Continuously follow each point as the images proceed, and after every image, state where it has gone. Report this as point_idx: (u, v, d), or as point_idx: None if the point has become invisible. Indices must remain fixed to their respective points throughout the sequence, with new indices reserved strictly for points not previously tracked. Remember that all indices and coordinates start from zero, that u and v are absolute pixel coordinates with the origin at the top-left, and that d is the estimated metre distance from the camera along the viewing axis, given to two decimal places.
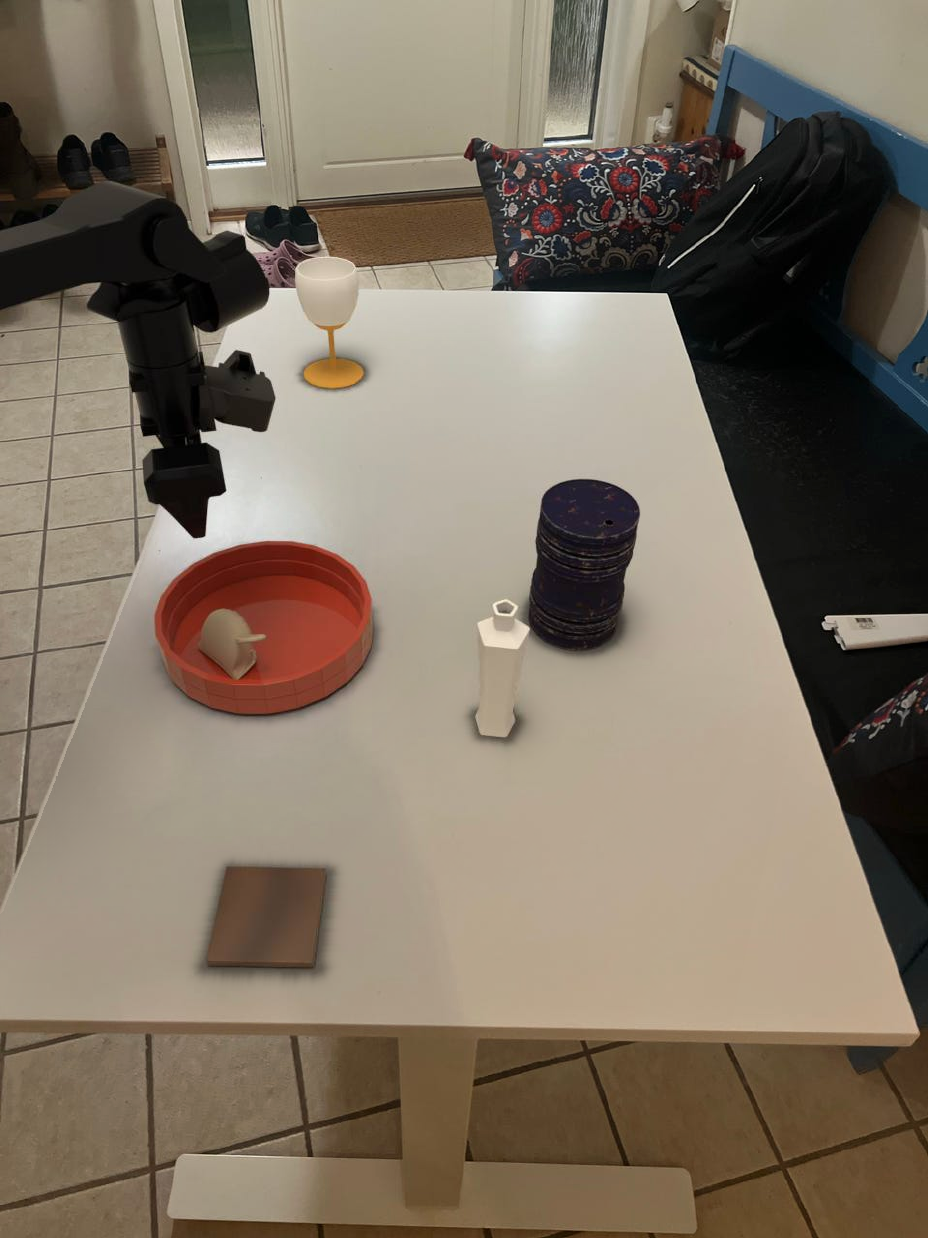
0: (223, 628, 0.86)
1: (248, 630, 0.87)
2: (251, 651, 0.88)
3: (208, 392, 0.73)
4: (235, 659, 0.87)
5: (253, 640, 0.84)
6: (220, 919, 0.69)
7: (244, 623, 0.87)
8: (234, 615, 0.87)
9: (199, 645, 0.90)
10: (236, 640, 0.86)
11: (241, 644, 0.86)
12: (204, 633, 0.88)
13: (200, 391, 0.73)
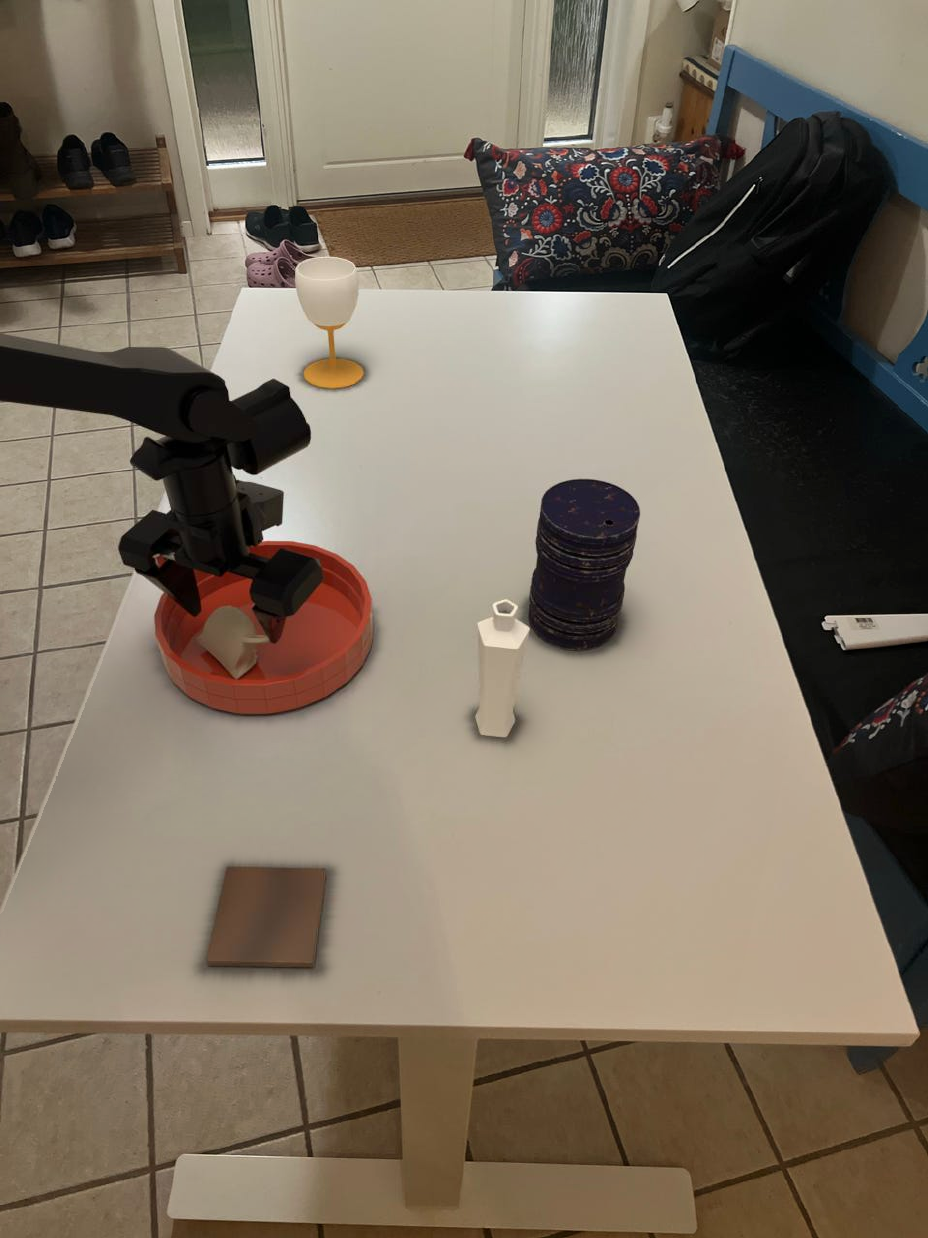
0: (230, 626, 0.86)
1: (254, 630, 0.87)
2: (254, 651, 0.88)
3: (253, 508, 0.79)
4: (238, 658, 0.86)
5: (261, 641, 0.85)
6: (220, 919, 0.69)
7: (251, 623, 0.87)
8: (241, 614, 0.87)
9: (199, 639, 0.90)
10: (242, 639, 0.85)
11: (246, 644, 0.86)
12: (207, 628, 0.88)
13: (248, 511, 0.79)
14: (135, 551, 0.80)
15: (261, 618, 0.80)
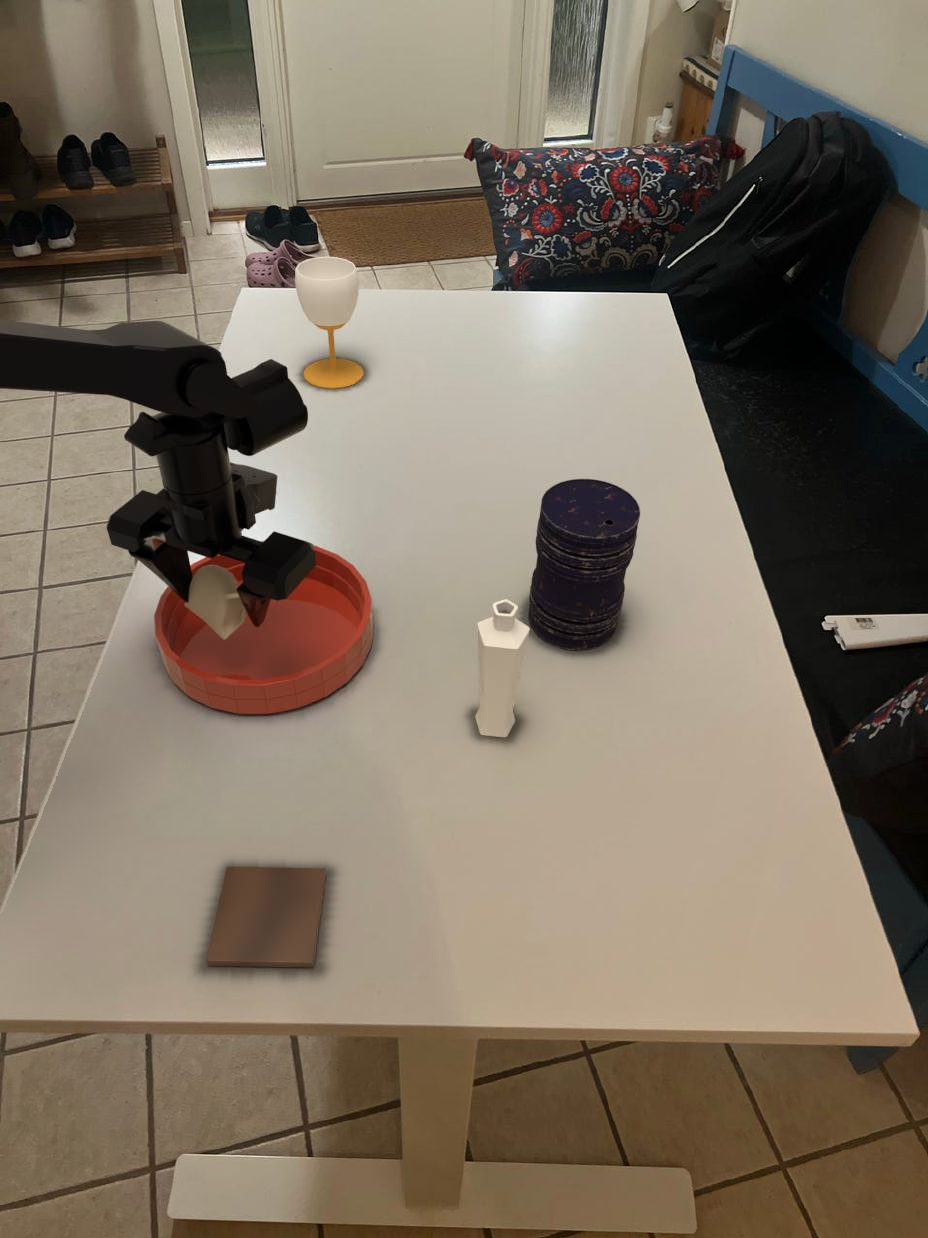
0: (211, 584, 0.83)
1: (237, 587, 0.83)
2: (240, 609, 0.84)
3: (247, 490, 0.78)
4: (223, 616, 0.83)
5: None
6: (220, 919, 0.69)
7: (233, 579, 0.83)
8: (223, 571, 0.83)
9: (187, 603, 0.86)
10: (224, 596, 0.82)
11: (230, 601, 0.82)
12: (192, 590, 0.85)
13: (242, 492, 0.77)
14: (124, 531, 0.79)
15: (245, 599, 0.79)
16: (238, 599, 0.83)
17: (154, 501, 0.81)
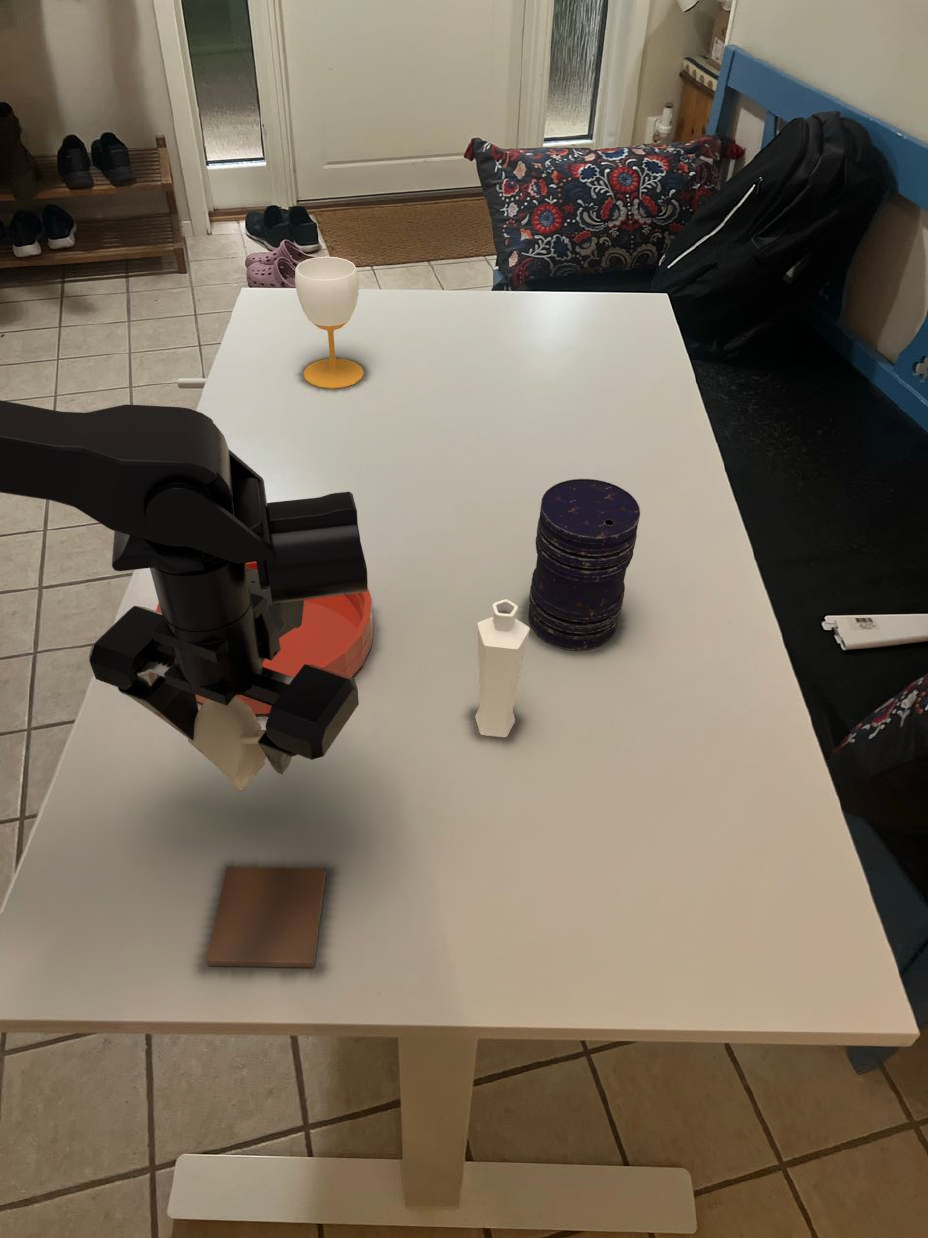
0: (223, 723, 0.65)
1: (256, 724, 0.66)
2: (260, 751, 0.67)
3: (270, 614, 0.61)
4: (239, 763, 0.66)
5: None
6: (220, 919, 0.69)
7: (251, 715, 0.66)
8: (237, 704, 0.66)
9: None
10: (240, 739, 0.65)
11: (247, 744, 0.65)
12: (198, 726, 0.68)
13: (264, 617, 0.60)
14: (112, 665, 0.61)
15: (269, 752, 0.61)
16: None
17: (150, 622, 0.64)
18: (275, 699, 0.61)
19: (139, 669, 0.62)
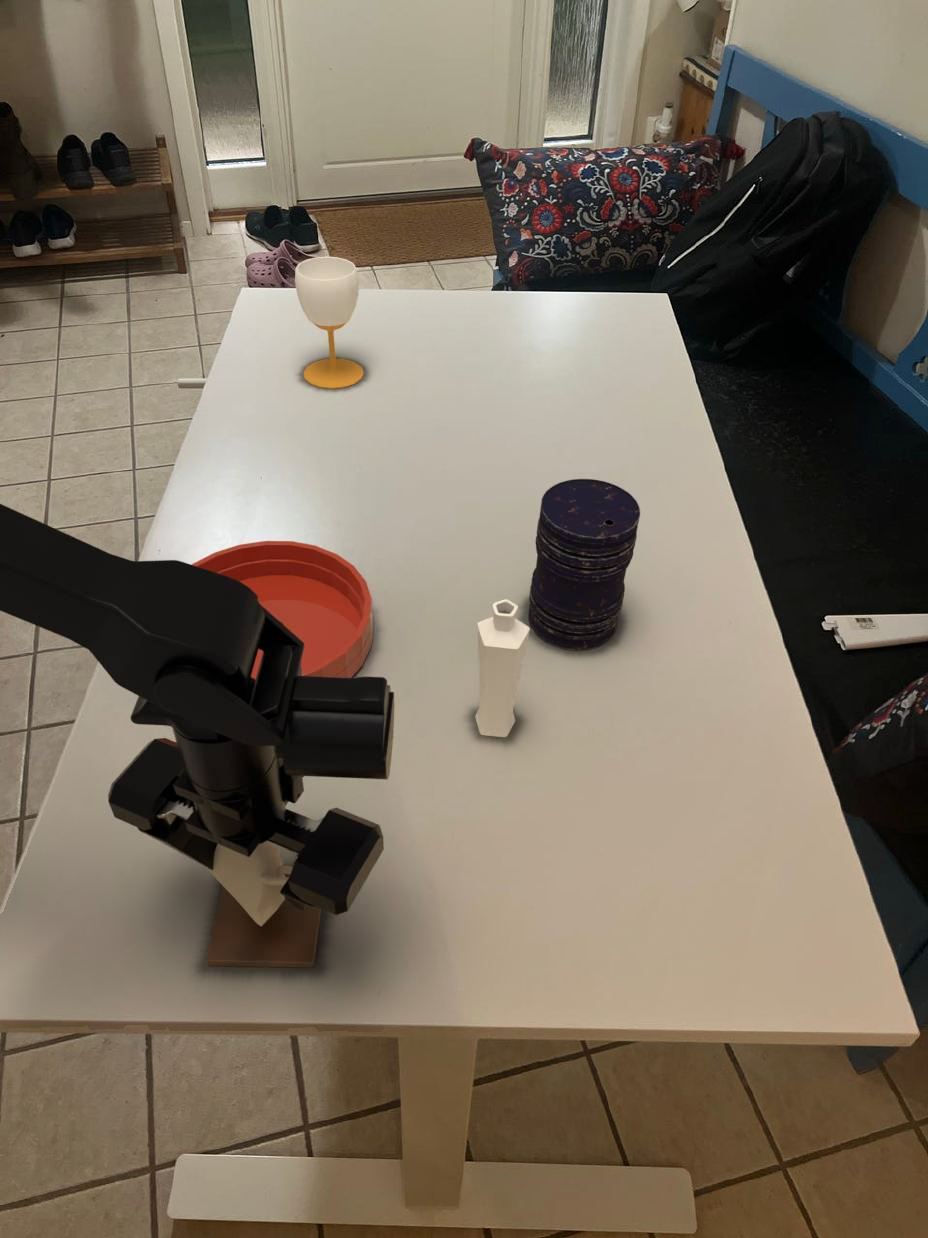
0: (244, 860, 0.64)
1: (277, 860, 0.64)
2: (281, 886, 0.65)
3: None
4: (259, 900, 0.64)
5: None
6: (220, 919, 0.69)
7: (272, 850, 0.64)
8: None
9: None
10: (261, 879, 0.63)
11: None
12: (218, 858, 0.66)
13: None
14: (132, 807, 0.60)
15: (291, 900, 0.60)
16: (278, 876, 0.64)
17: (170, 759, 0.62)
18: (298, 847, 0.59)
19: (159, 810, 0.61)
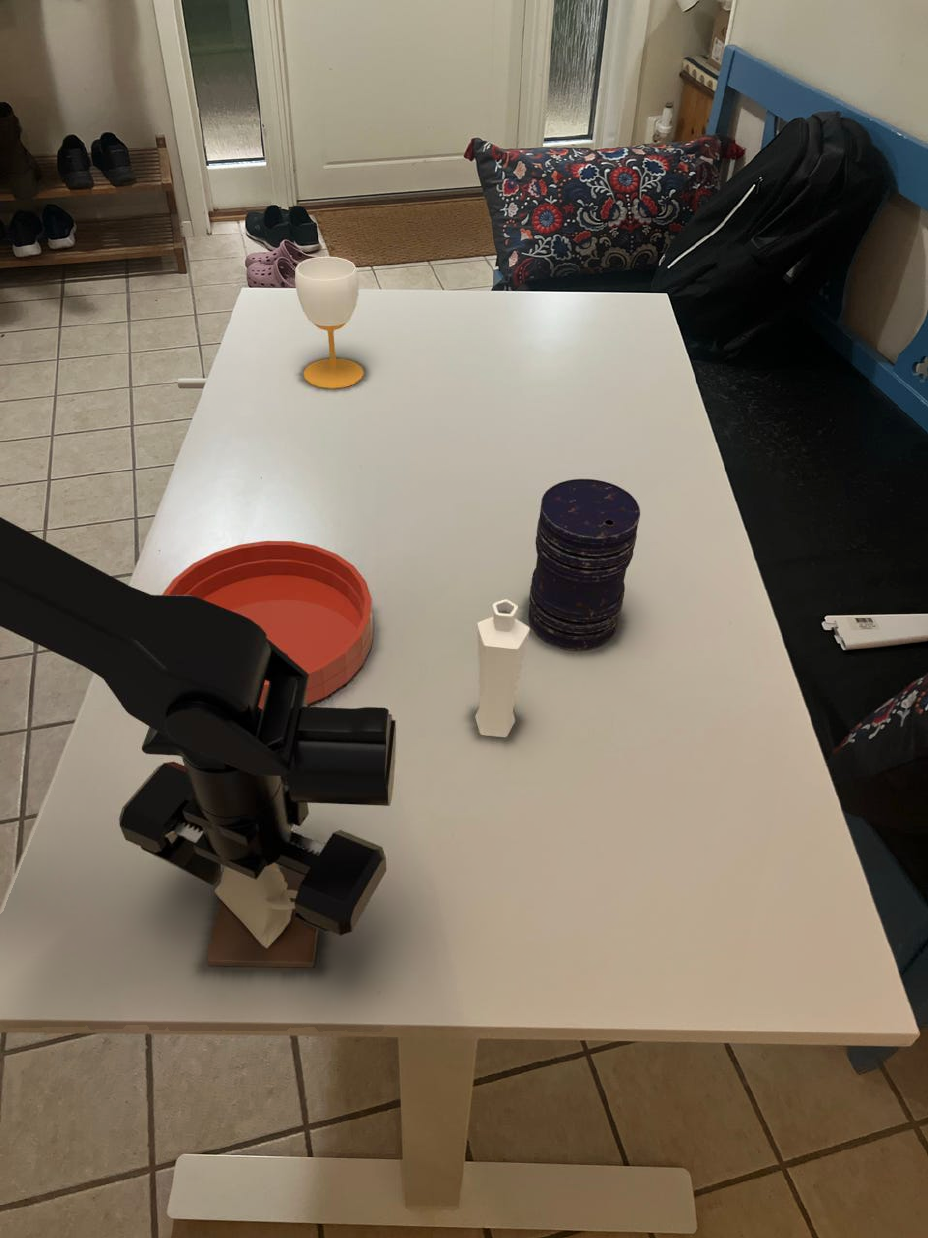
0: (250, 884, 0.66)
1: (282, 884, 0.67)
2: (286, 909, 0.67)
3: None
4: (265, 923, 0.66)
5: (290, 908, 0.64)
6: (220, 919, 0.69)
7: (277, 875, 0.67)
8: None
9: (218, 891, 0.70)
10: (267, 903, 0.65)
11: None
12: (225, 882, 0.68)
13: None
14: (142, 831, 0.62)
15: (305, 923, 0.61)
16: (283, 900, 0.67)
17: (179, 783, 0.64)
18: (304, 869, 0.61)
19: None
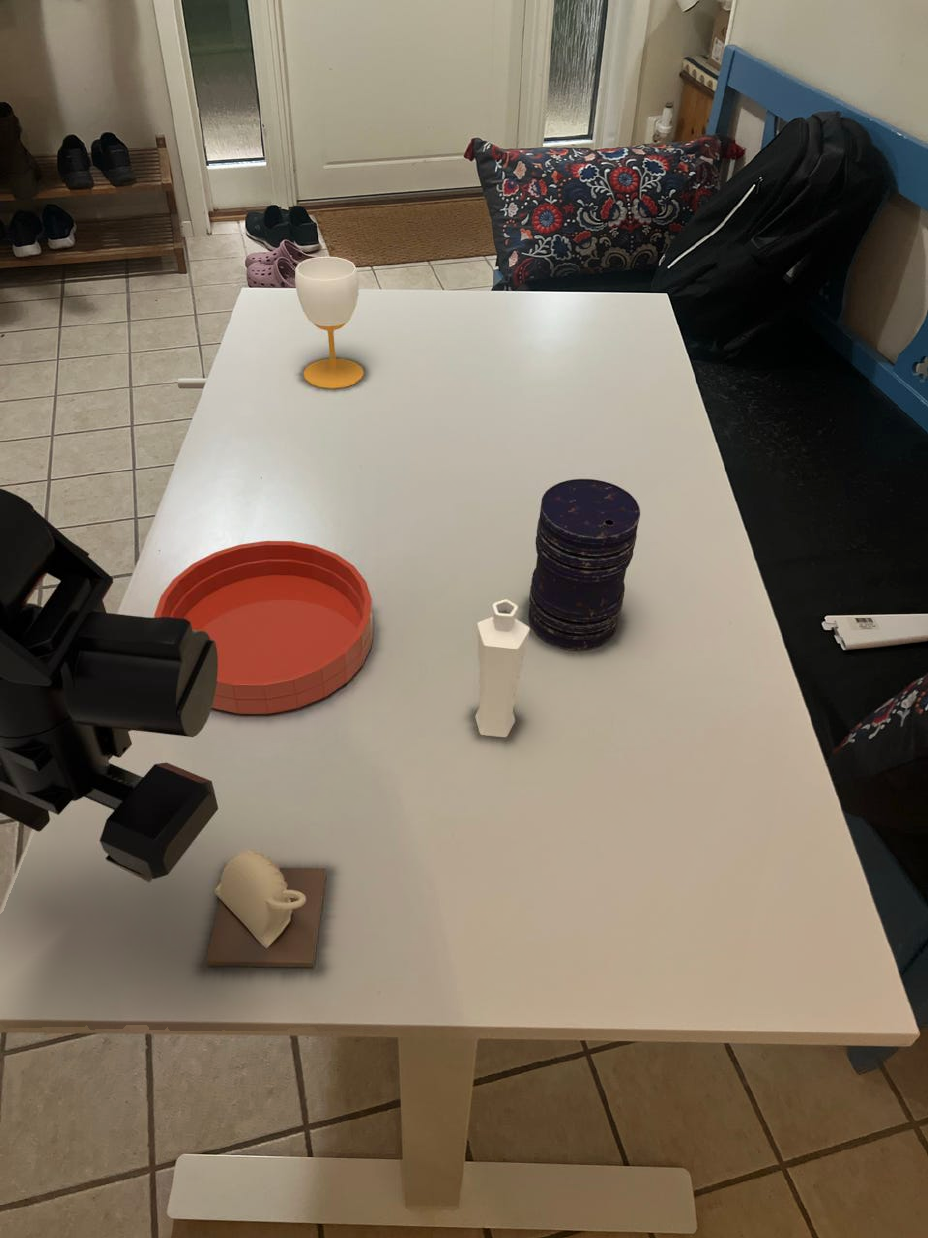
0: (250, 884, 0.66)
1: (282, 884, 0.67)
2: (286, 909, 0.67)
3: None
4: (265, 923, 0.66)
5: (290, 908, 0.64)
6: (220, 919, 0.69)
7: (277, 875, 0.67)
8: (264, 864, 0.67)
9: (218, 891, 0.70)
10: (267, 903, 0.65)
11: None
12: (225, 882, 0.68)
13: None
14: None
15: (122, 868, 0.54)
16: (283, 900, 0.67)
17: None
18: (118, 805, 0.53)
19: None
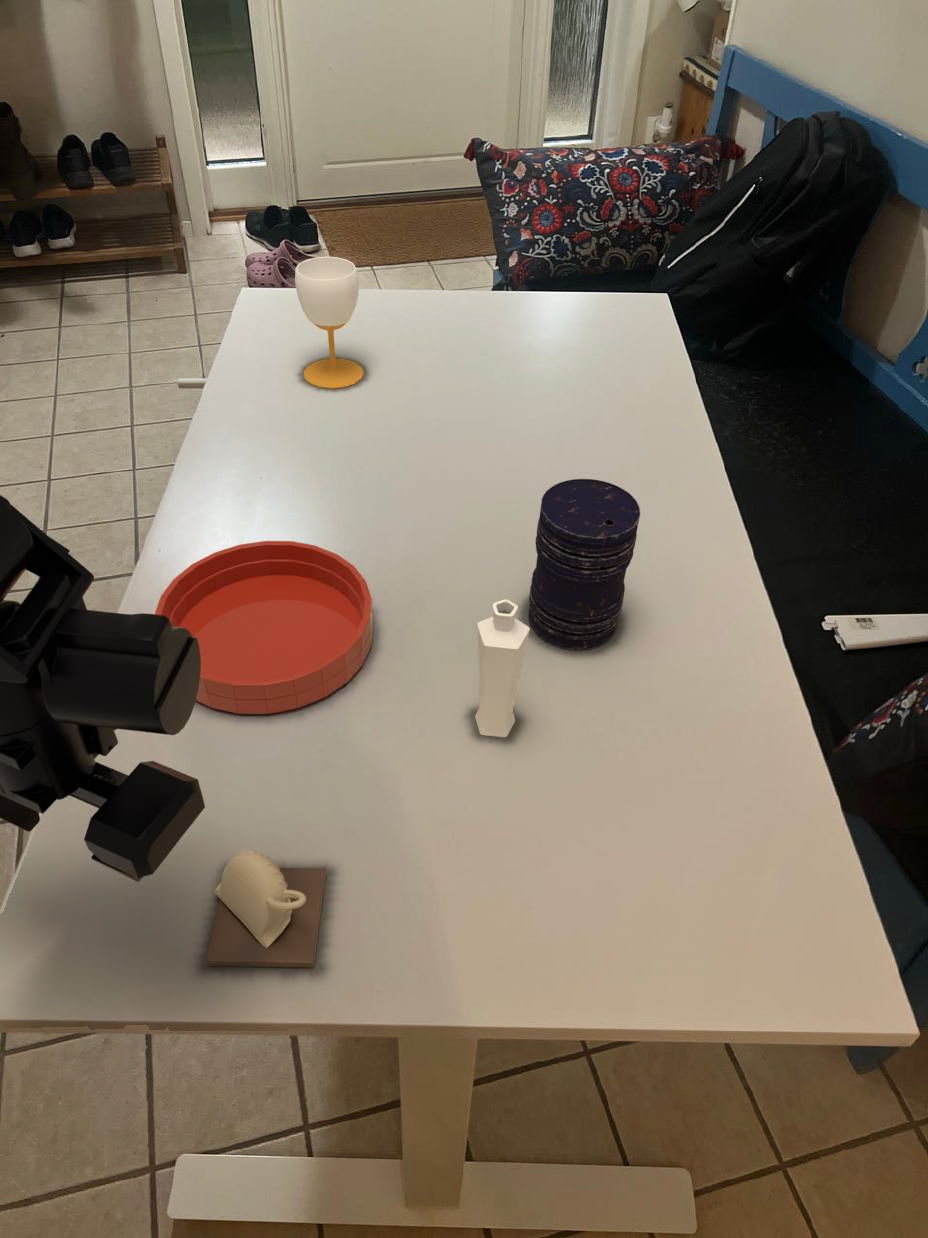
0: (250, 884, 0.66)
1: (282, 884, 0.67)
2: (286, 909, 0.67)
3: None
4: (265, 923, 0.66)
5: (290, 908, 0.64)
6: (220, 919, 0.69)
7: (277, 875, 0.67)
8: (264, 864, 0.67)
9: (218, 891, 0.70)
10: (267, 903, 0.65)
11: None
12: (225, 882, 0.68)
13: None
14: None
15: (108, 867, 0.53)
16: (283, 900, 0.67)
17: None
18: (104, 804, 0.53)
19: None
